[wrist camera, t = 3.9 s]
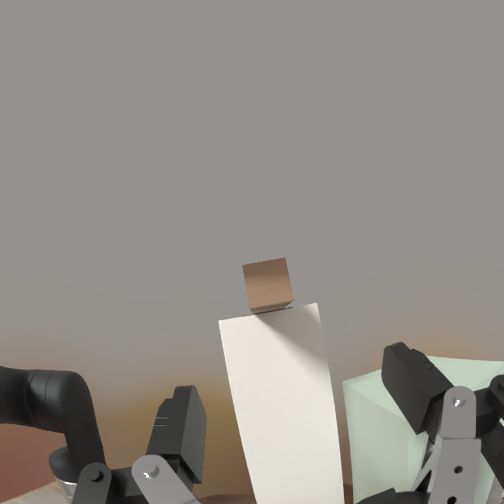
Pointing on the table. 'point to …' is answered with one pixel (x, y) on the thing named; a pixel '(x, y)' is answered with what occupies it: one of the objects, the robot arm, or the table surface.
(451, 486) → the robot arm
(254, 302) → the bar
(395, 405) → the step
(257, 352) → the stand
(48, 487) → the table surface
